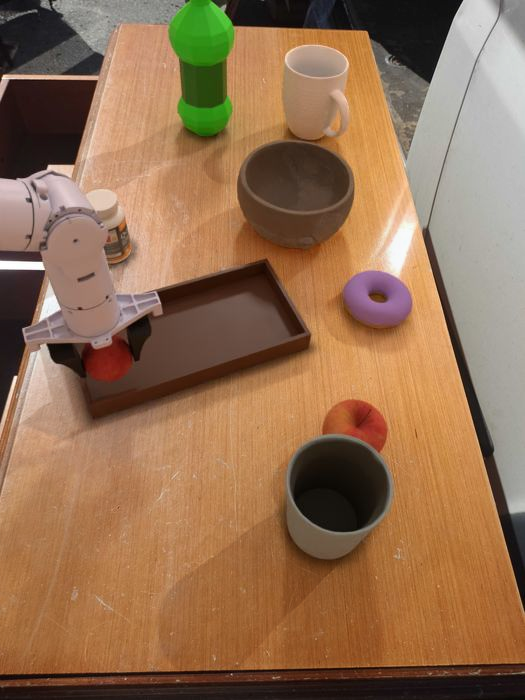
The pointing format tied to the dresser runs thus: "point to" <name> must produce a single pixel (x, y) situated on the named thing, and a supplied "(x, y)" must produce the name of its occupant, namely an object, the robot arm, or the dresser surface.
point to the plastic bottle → (203, 65)
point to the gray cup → (336, 494)
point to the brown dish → (205, 336)
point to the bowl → (295, 192)
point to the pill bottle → (112, 224)
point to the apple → (357, 422)
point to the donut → (374, 312)
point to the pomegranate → (107, 360)
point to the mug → (315, 91)
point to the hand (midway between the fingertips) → (108, 363)
